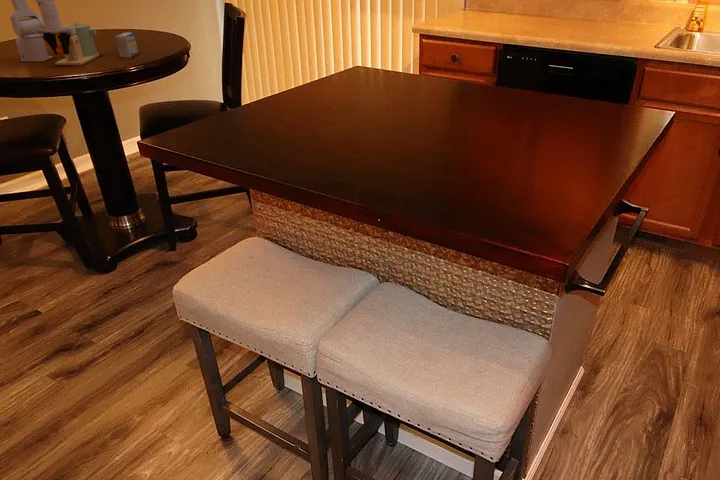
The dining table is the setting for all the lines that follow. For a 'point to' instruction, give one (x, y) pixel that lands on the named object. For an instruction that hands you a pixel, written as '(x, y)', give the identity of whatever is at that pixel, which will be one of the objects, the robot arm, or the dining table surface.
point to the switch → (61, 49)
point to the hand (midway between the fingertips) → (62, 54)
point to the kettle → (85, 39)
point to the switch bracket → (78, 54)
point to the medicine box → (126, 44)
